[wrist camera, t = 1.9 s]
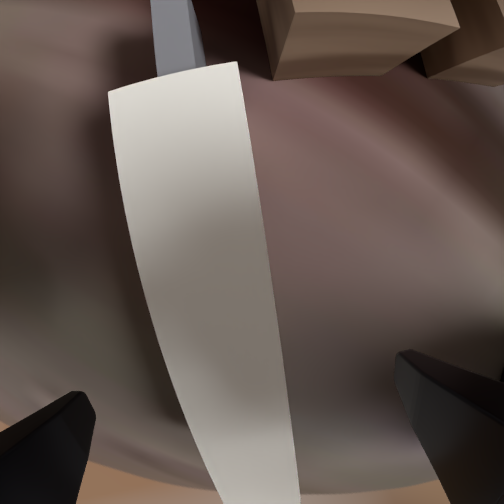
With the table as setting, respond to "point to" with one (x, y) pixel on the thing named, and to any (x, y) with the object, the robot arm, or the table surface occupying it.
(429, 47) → the tan notched block
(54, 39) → the table surface
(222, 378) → the white curved bar
